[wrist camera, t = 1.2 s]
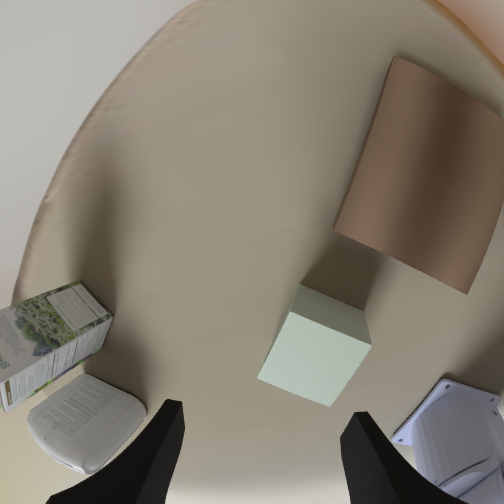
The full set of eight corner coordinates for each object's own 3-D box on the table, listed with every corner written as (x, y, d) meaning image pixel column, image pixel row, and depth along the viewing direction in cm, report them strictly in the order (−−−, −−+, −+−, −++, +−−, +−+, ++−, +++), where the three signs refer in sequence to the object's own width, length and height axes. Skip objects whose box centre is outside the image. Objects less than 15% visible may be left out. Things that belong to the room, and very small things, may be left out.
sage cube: (363, 310, 19) (372, 345, 14) (331, 364, 20) (329, 406, 15) (299, 283, 19) (289, 311, 15) (272, 340, 21) (256, 377, 16)
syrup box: (69, 314, 27) (-29, 365, 13) (80, 276, 25) (-38, 324, 11) (102, 349, 26) (5, 417, 12) (116, 314, 24) (-4, 385, 11)
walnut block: (497, 137, 13) (517, 130, 11) (450, 281, 17) (466, 294, 14) (386, 72, 15) (394, 54, 12) (332, 225, 18) (333, 230, 16)
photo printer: (88, 392, 29) (28, 441, 18) (80, 367, 28) (13, 415, 17) (150, 422, 27) (91, 490, 15) (144, 396, 26) (75, 467, 14)
